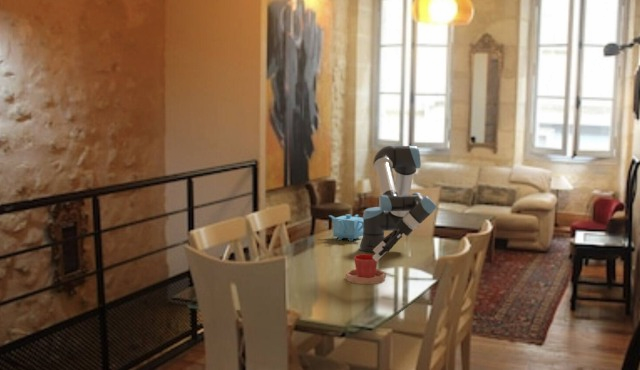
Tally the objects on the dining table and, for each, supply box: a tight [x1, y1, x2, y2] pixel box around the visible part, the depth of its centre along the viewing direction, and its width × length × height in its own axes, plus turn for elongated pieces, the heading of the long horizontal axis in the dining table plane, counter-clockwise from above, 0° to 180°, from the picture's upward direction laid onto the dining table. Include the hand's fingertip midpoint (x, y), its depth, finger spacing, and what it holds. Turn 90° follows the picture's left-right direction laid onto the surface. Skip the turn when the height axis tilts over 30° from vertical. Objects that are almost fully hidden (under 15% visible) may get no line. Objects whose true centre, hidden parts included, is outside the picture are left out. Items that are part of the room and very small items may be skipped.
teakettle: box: [329, 213, 363, 242], centre depth 405 cm, size 19×19×15 cm
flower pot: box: [353, 253, 378, 278], centre depth 316 cm, size 11×11×10 cm
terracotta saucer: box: [344, 268, 387, 285], centre depth 316 cm, size 18×18×3 cm
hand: (374, 255), depth 314 cm, fingers open, 13 cm apart
